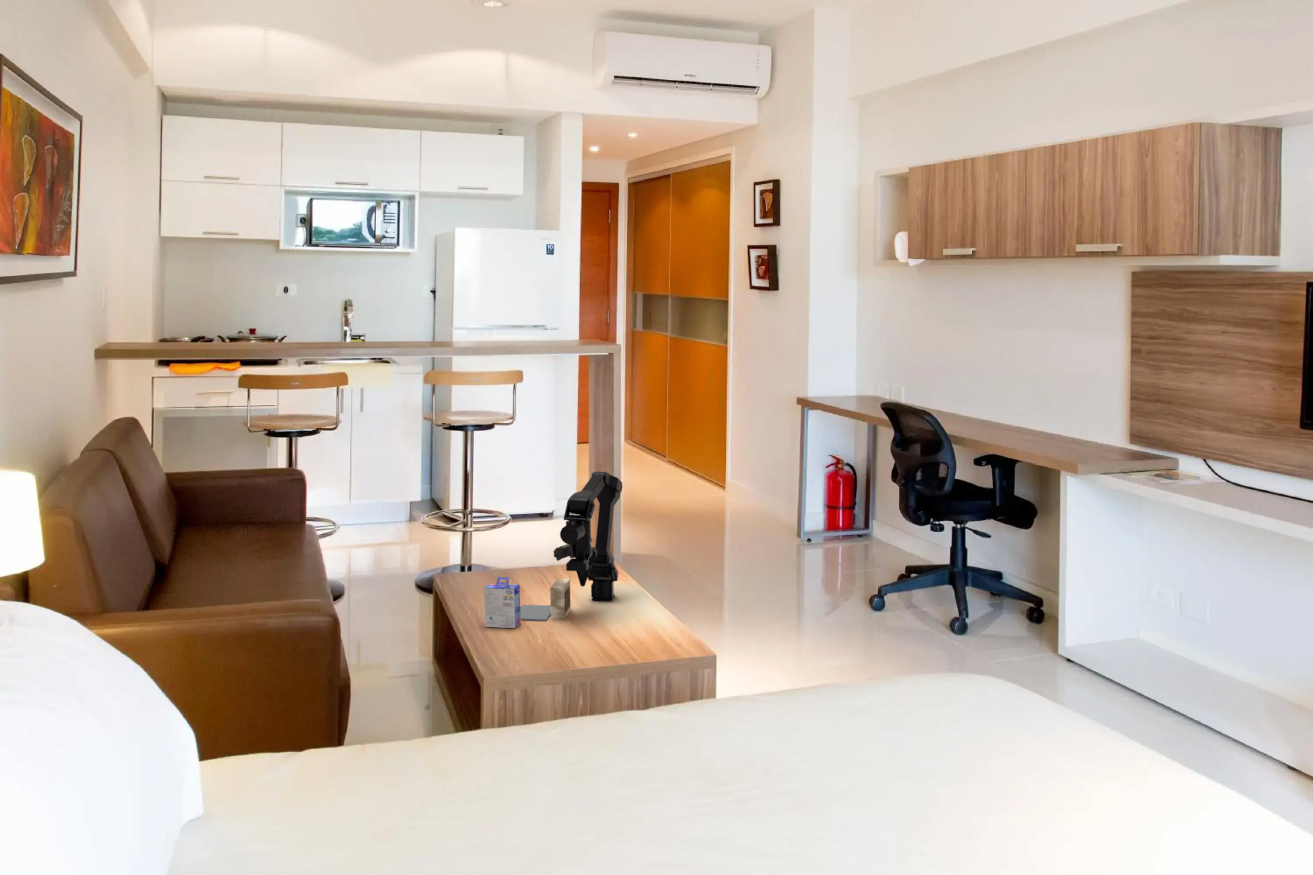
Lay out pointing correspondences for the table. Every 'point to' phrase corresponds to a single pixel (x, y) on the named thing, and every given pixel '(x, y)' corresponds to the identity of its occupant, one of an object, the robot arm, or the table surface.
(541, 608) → the mat
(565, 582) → the wooden block
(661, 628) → the table surface
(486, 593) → the ink cartridge box
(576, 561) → the robot arm
